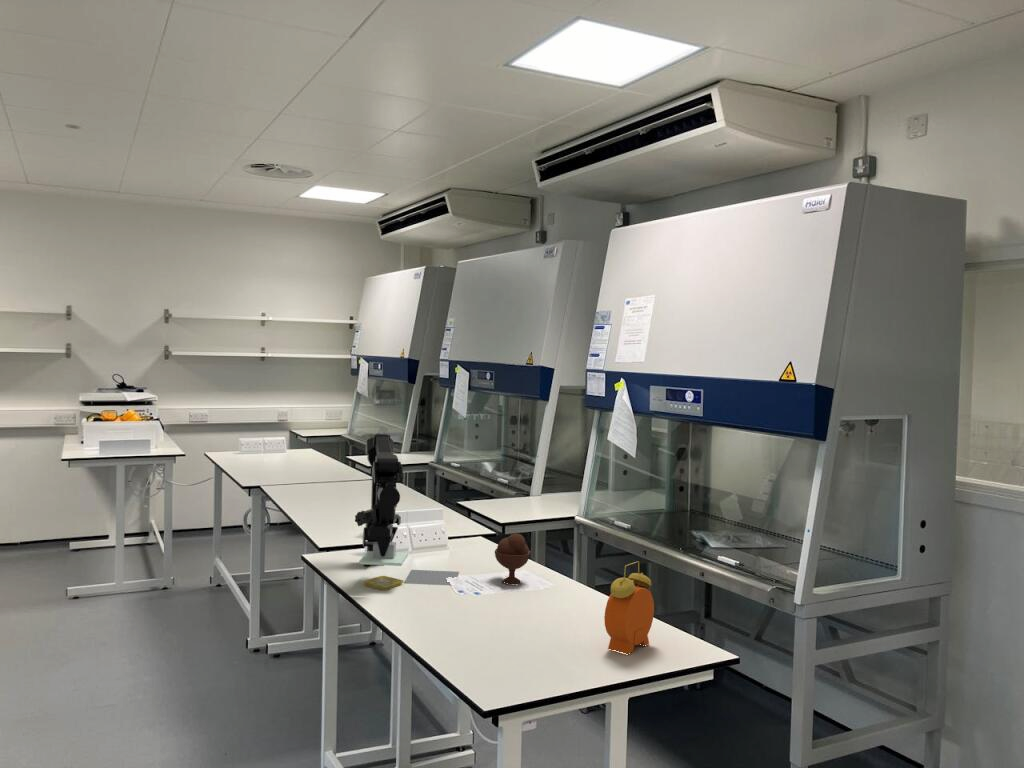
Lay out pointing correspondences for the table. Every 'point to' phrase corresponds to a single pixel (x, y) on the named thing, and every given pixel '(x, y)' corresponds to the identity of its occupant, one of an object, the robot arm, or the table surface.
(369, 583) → the saucer
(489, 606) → the table surface
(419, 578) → the mat
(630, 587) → the alarm clock
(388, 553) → the cover
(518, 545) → the ice cream bowl
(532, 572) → the table surface
